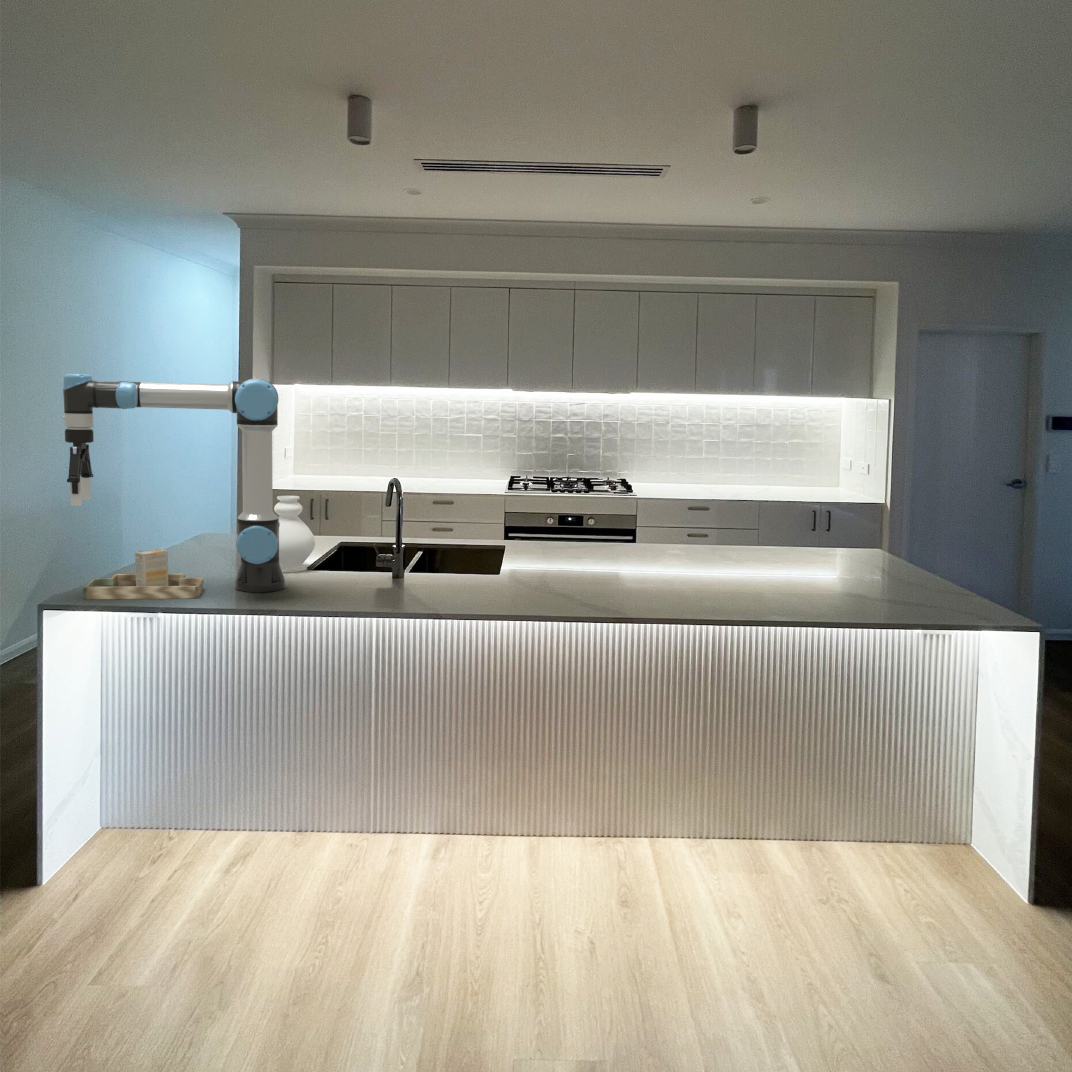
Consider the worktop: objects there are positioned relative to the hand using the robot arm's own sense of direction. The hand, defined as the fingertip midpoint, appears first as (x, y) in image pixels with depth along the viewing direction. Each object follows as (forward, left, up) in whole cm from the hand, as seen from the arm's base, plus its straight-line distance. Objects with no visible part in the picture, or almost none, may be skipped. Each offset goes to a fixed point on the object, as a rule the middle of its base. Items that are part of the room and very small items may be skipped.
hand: (81, 502), depth 309 cm
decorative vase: (-57, -46, -28) cm, 79 cm away
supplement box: (-18, -5, -28) cm, 34 cm away
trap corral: (-16, -9, -28) cm, 34 cm away
